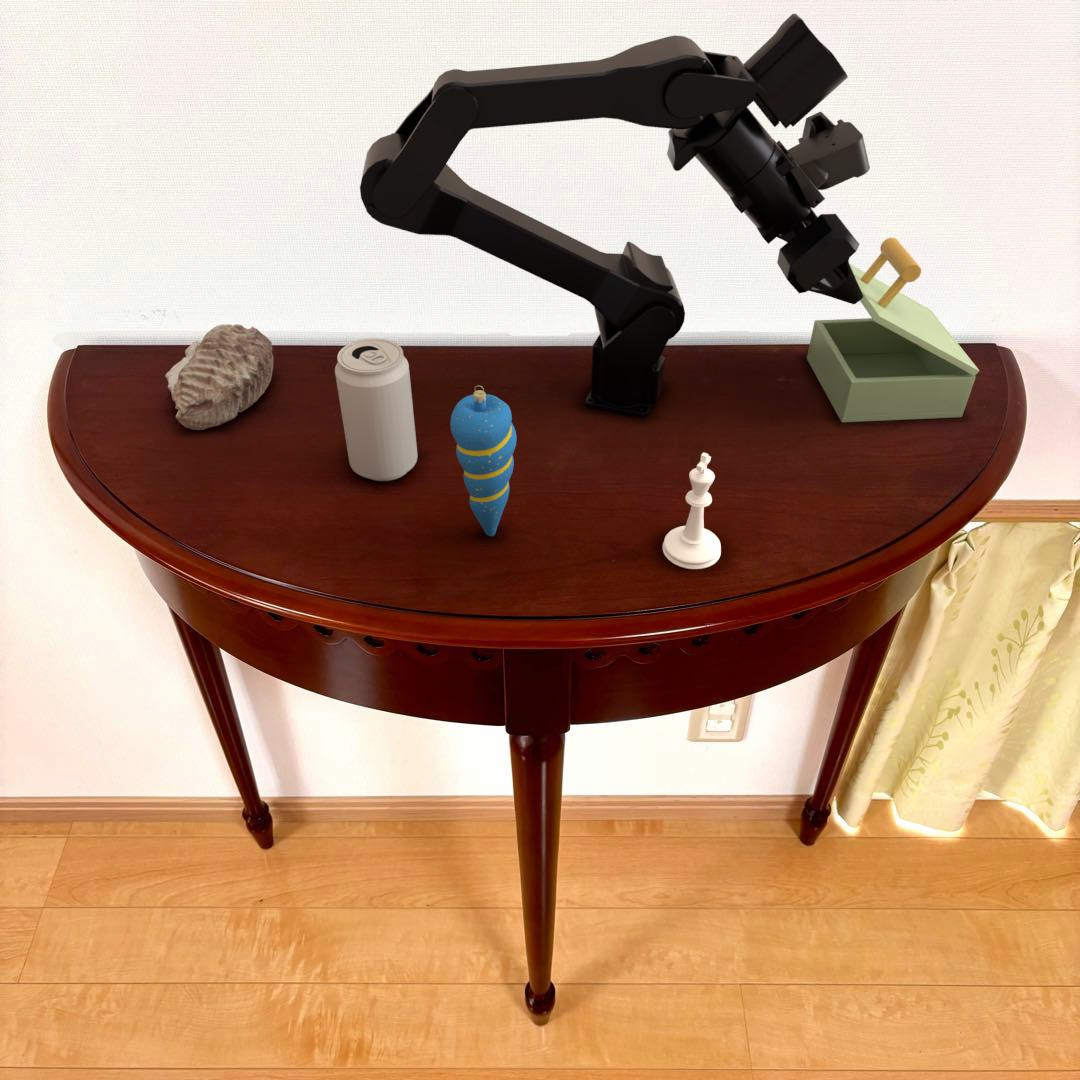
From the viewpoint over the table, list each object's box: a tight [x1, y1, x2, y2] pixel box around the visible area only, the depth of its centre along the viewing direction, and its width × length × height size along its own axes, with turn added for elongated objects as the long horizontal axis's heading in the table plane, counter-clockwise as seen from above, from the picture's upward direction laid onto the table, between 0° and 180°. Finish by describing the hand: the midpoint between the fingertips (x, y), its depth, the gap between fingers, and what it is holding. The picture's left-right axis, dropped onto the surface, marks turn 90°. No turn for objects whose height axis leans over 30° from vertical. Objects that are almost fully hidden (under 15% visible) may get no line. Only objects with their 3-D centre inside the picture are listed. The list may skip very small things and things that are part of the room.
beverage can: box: [334, 337, 419, 482], centre depth 87 cm, size 6×6×12 cm
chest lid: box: [849, 237, 980, 377], centre depth 94 cm, size 13×12×6 cm
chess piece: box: [662, 452, 722, 570], centre depth 78 cm, size 5×5×10 cm
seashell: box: [164, 323, 274, 431], centre depth 97 cm, size 14×9×10 cm
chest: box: [806, 317, 976, 423], centre depth 99 cm, size 12×12×5 cm
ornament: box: [449, 385, 518, 537], centre depth 78 cm, size 5×5×15 cm
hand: (843, 277), depth 92 cm, fingers open, 9 cm apart
